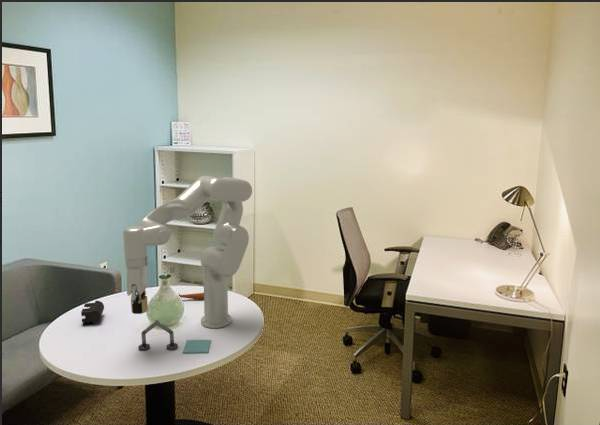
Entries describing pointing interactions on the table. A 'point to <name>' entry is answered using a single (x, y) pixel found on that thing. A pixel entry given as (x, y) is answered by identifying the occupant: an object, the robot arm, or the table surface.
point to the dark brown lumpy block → (92, 313)
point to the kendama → (193, 296)
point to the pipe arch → (172, 345)
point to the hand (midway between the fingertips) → (139, 309)
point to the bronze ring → (144, 304)
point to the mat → (196, 346)
